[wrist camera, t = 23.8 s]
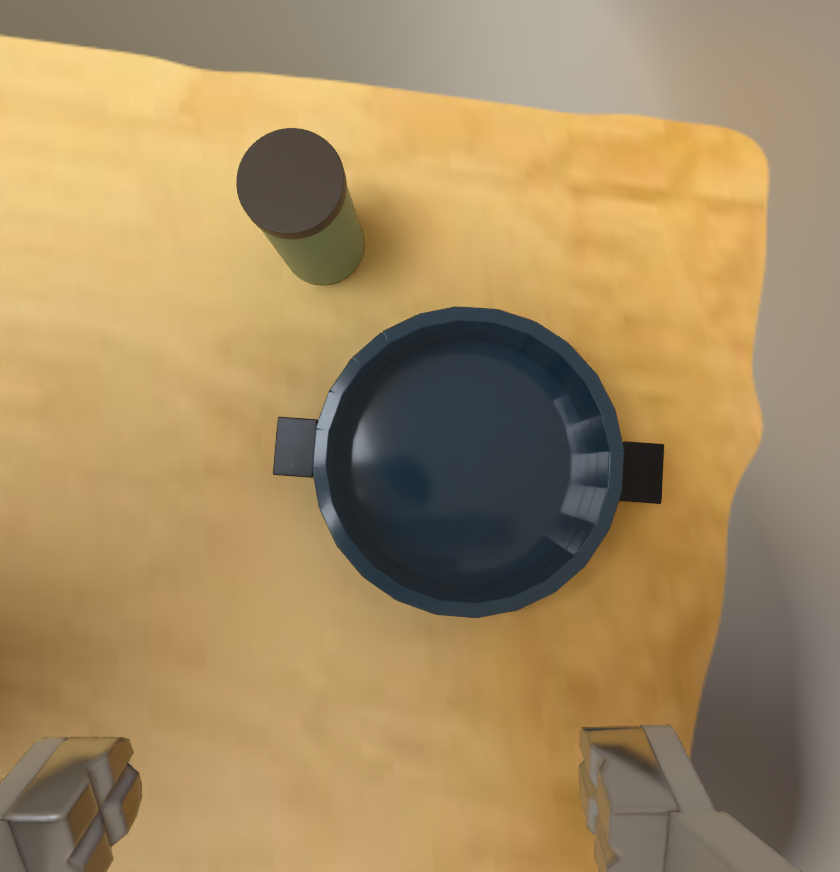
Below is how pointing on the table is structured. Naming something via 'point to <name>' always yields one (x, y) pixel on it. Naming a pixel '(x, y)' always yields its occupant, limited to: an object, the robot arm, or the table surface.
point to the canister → (302, 204)
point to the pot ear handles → (637, 465)
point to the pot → (468, 462)
